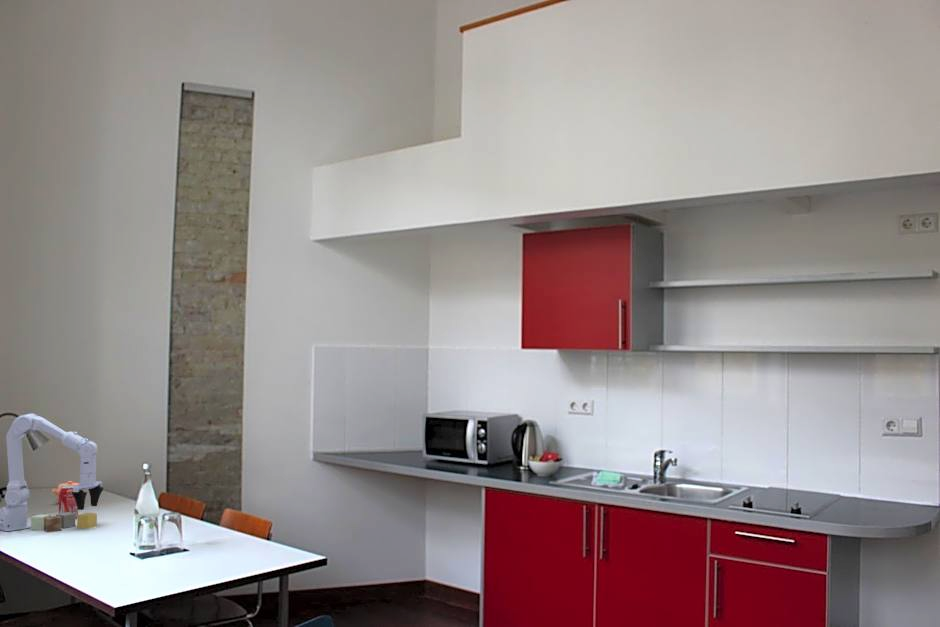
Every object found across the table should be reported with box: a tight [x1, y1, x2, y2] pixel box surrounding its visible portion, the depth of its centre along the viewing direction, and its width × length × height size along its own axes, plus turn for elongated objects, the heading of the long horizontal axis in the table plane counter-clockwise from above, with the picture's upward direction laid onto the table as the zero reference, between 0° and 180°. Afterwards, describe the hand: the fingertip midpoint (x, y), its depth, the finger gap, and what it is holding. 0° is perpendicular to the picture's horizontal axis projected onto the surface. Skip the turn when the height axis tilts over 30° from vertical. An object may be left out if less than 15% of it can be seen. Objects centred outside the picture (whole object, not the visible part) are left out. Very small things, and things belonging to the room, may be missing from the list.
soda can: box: [58, 485, 79, 519], centre depth 359 cm, size 7×7×13 cm
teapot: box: [51, 480, 86, 502], centre depth 393 cm, size 12×12×10 cm
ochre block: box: [76, 512, 98, 530], centre depth 344 cm, size 5×5×5 cm
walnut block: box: [44, 515, 62, 533], centre depth 337 cm, size 5×5×5 cm
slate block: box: [55, 512, 76, 529], centre depth 344 cm, size 5×5×5 cm
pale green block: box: [30, 514, 52, 531], centre depth 340 cm, size 5×5×5 cm
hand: (87, 507), depth 344 cm, fingers open, 7 cm apart
